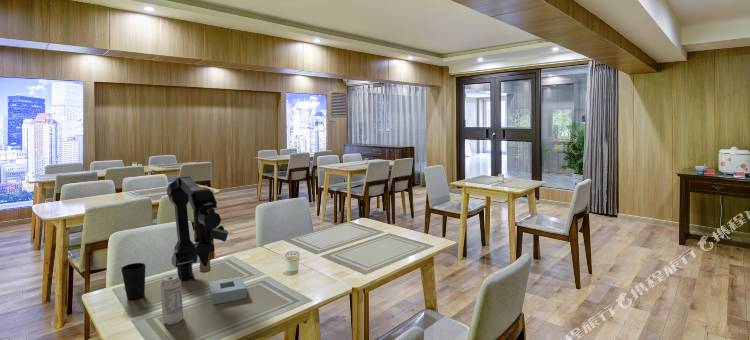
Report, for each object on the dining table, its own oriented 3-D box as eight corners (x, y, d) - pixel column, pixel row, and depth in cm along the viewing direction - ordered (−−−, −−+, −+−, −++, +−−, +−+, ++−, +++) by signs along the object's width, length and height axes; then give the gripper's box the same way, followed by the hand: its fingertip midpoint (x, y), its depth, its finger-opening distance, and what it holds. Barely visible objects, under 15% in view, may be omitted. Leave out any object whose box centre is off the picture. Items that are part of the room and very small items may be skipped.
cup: (120, 303, 145) (118, 271, 144) (127, 294, 153) (125, 263, 151) (144, 300, 148) (142, 269, 146) (150, 291, 155) (147, 261, 153)
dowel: (200, 270, 150) (198, 249, 149) (210, 268, 151) (209, 248, 150) (200, 273, 147) (198, 252, 146) (210, 271, 148) (209, 250, 147)
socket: (209, 291, 155) (208, 281, 154) (241, 286, 160) (241, 276, 160) (212, 304, 144) (211, 294, 144) (246, 298, 149) (246, 287, 149)
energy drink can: (183, 314, 137) (180, 272, 135) (184, 322, 132) (181, 279, 130) (163, 319, 134) (159, 276, 132) (163, 327, 129) (160, 282, 127)
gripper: (228, 226, 142) (230, 269, 144) (224, 215, 158) (226, 253, 160) (193, 230, 137) (196, 274, 139) (193, 218, 154) (195, 257, 156)
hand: (205, 264), depth 149 cm, fingers closed on dowel, 4 cm apart
